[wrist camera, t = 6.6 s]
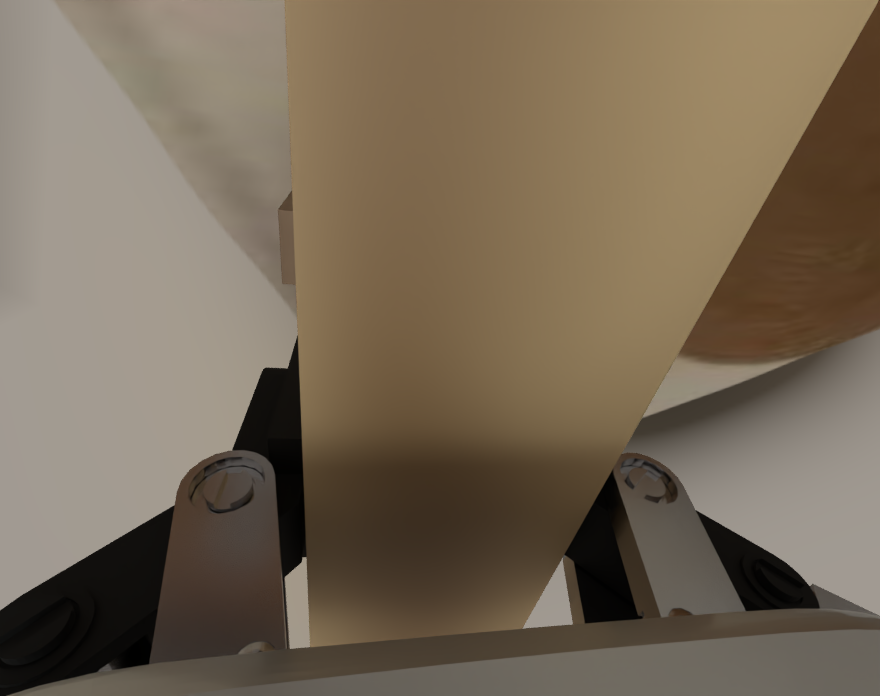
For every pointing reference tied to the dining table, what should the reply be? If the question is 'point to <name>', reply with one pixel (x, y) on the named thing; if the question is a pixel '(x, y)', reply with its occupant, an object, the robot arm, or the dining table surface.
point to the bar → (510, 267)
